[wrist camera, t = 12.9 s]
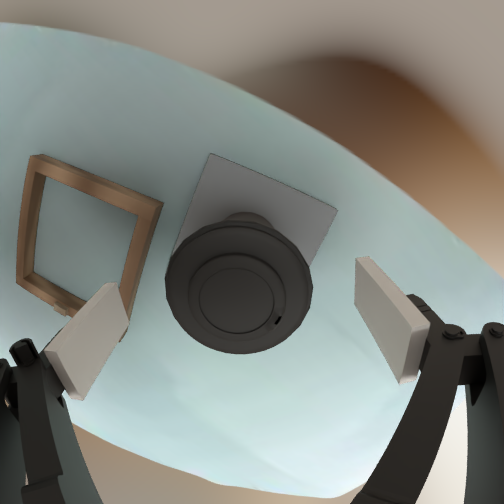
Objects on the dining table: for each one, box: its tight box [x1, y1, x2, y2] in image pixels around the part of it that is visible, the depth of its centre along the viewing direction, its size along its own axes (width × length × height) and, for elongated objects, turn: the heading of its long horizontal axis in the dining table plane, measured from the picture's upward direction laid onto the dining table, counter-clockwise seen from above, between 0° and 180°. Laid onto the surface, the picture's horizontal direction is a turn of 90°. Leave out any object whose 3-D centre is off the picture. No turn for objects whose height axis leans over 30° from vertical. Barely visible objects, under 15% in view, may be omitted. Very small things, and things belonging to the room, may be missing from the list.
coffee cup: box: [165, 212, 313, 354], centre depth 20 cm, size 8×8×10 cm
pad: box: [165, 154, 338, 275], centre depth 25 cm, size 11×11×1 cm
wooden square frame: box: [16, 154, 164, 342], centre depth 24 cm, size 14×14×3 cm
